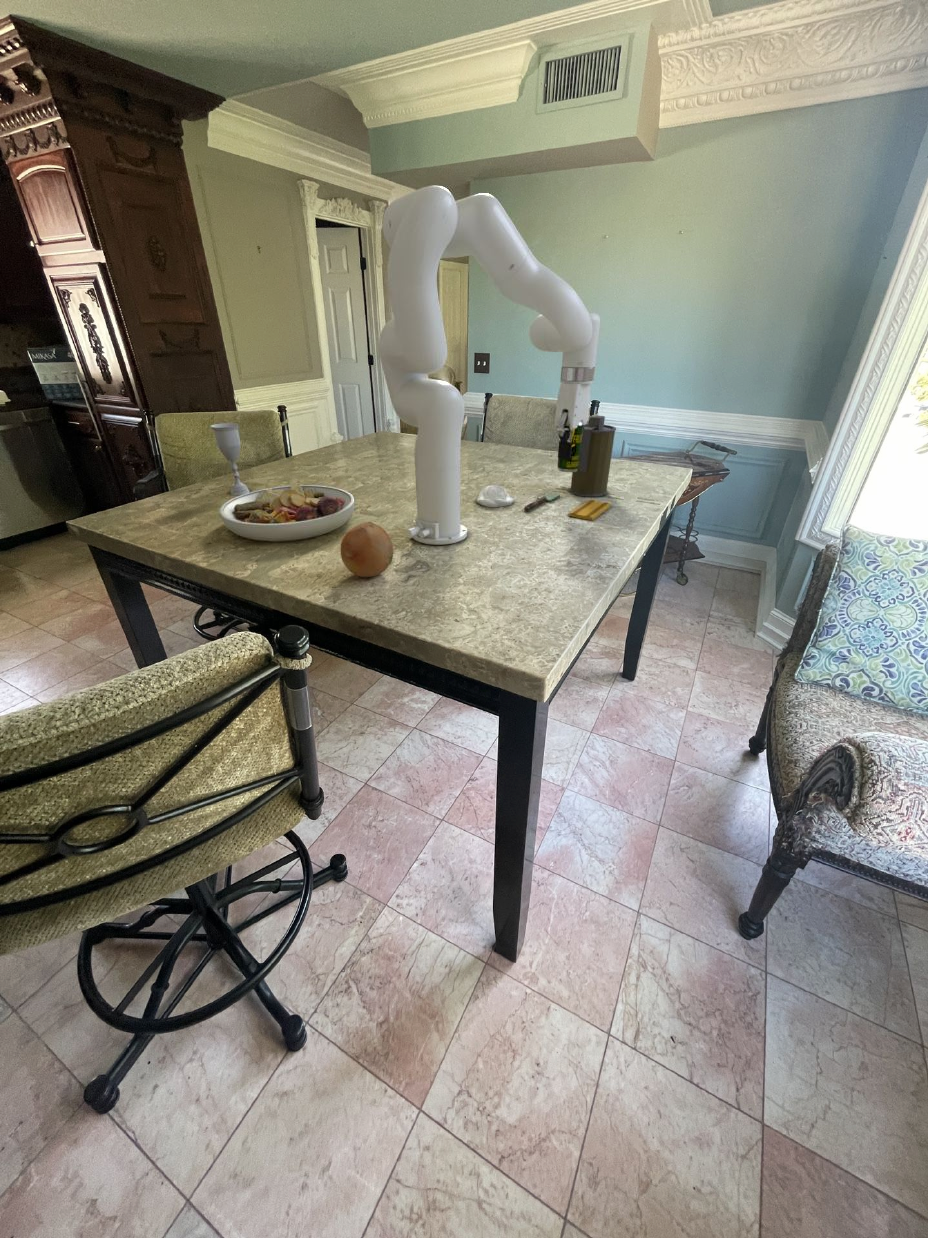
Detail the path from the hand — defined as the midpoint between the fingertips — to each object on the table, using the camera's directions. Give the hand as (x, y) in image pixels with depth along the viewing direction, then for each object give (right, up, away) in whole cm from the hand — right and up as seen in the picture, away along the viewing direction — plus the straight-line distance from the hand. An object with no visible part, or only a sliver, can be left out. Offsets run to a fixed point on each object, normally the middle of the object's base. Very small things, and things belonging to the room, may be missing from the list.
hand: (569, 455), depth 124 cm
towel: (+6, -13, +3) cm, 15 cm away
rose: (-18, -10, +10) cm, 22 cm away
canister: (+9, -5, +18) cm, 21 cm away
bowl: (-67, -18, -5) cm, 70 cm away
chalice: (-90, -5, +18) cm, 92 cm away
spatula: (-6, -10, +9) cm, 14 cm away
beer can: (0, -3, +2) cm, 4 cm away
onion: (-44, -32, -29) cm, 62 cm away
